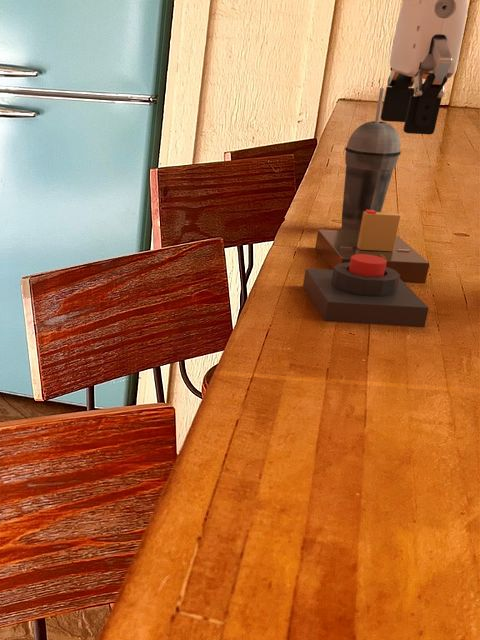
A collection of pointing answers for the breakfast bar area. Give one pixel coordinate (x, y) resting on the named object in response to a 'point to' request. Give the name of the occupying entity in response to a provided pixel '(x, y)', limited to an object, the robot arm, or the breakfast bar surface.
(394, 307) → the dark grey button base
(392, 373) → the breakfast bar surface
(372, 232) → the lock turn
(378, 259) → the bell button
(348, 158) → the beverage cup
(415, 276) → the plate
